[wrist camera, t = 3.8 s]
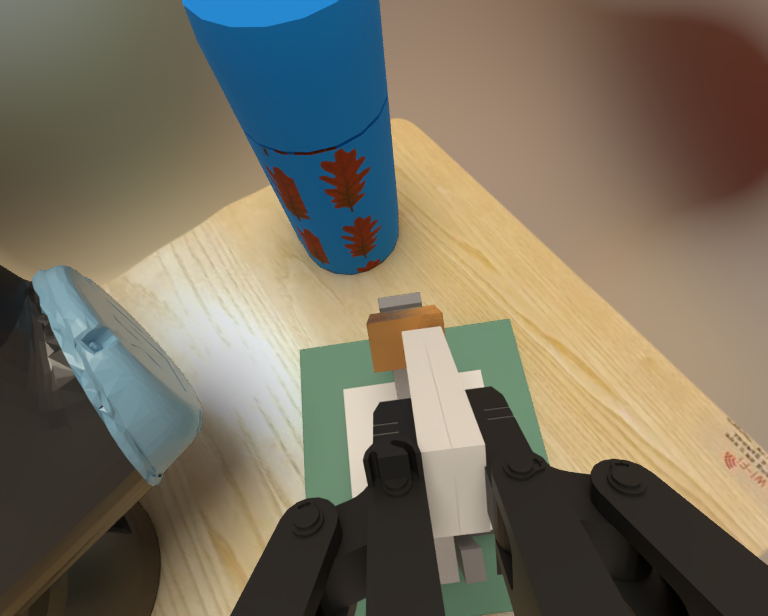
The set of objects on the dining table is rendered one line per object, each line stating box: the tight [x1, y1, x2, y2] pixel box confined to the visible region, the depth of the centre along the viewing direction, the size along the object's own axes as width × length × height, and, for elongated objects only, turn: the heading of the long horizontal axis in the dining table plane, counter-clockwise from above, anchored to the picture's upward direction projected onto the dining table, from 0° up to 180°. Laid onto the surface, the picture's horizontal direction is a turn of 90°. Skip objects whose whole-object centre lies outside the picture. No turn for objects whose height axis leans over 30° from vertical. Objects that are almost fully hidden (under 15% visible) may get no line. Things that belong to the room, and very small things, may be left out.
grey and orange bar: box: [367, 305, 460, 584], centre depth 21 cm, size 4×16×4 cm
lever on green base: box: [300, 292, 549, 616], centre depth 29 cm, size 20×22×11 cm
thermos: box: [182, 0, 398, 275], centre depth 32 cm, size 11×11×25 cm
